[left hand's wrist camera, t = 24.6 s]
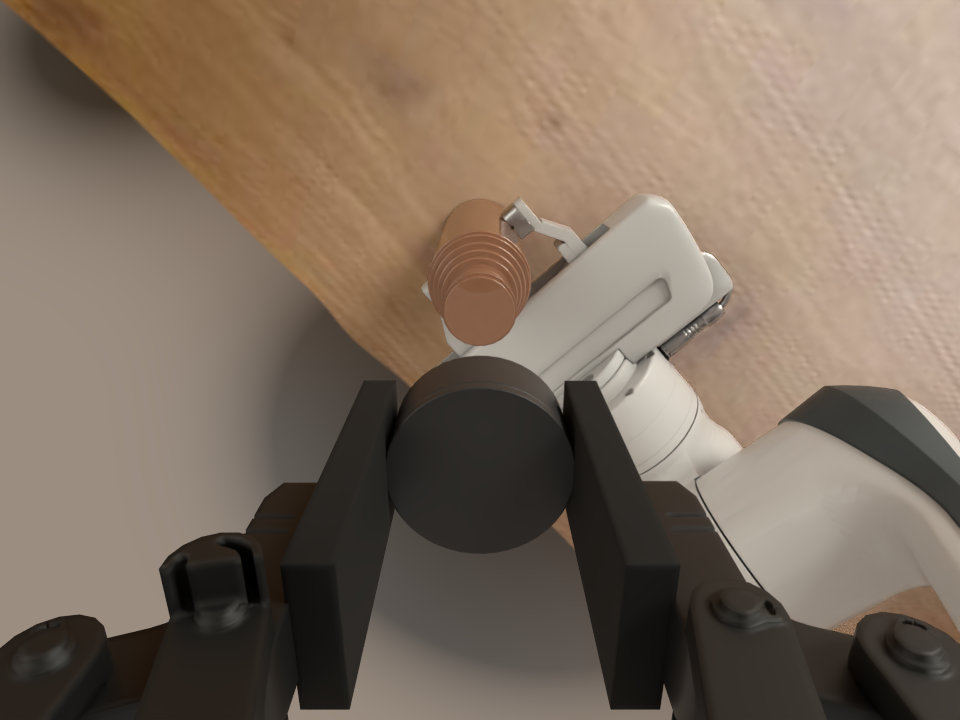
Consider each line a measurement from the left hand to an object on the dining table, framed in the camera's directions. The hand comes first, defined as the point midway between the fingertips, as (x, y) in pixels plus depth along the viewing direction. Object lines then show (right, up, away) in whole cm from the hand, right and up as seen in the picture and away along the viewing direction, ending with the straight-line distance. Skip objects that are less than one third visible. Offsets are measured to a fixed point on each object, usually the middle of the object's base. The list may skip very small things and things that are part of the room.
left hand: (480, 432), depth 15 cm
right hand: (-1, +9, +21) cm, 23 cm away
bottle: (0, +10, +28) cm, 30 cm away
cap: (0, -1, -2) cm, 2 cm away
